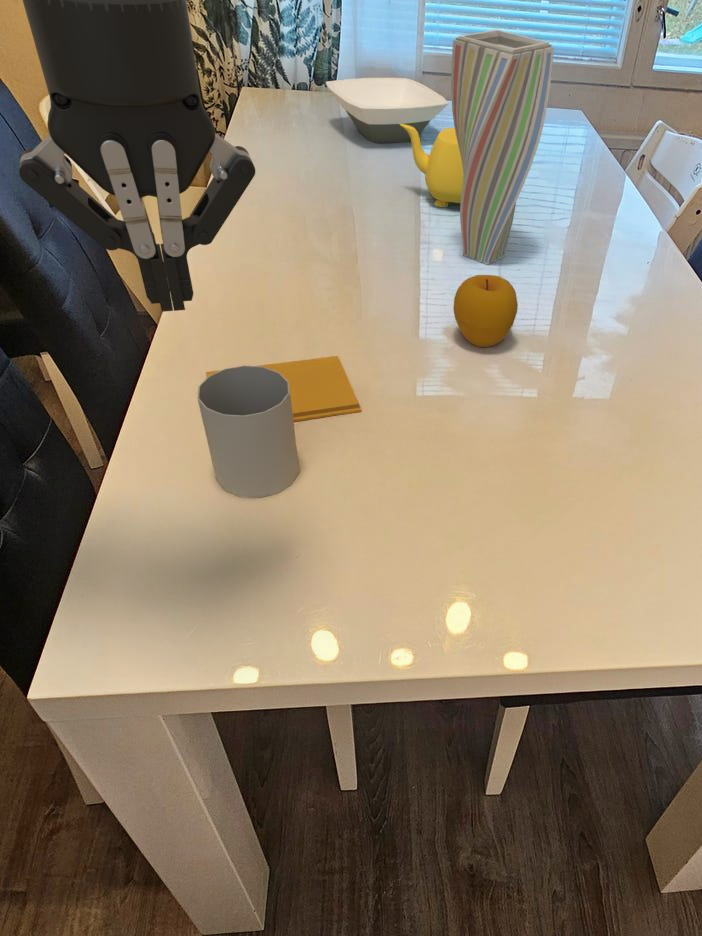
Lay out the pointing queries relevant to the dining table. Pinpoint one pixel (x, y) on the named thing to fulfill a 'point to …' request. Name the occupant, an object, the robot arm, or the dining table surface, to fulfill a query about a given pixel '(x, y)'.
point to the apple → (485, 309)
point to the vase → (496, 130)
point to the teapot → (440, 165)
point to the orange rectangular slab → (316, 387)
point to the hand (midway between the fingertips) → (172, 305)
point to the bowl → (387, 106)
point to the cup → (249, 430)
